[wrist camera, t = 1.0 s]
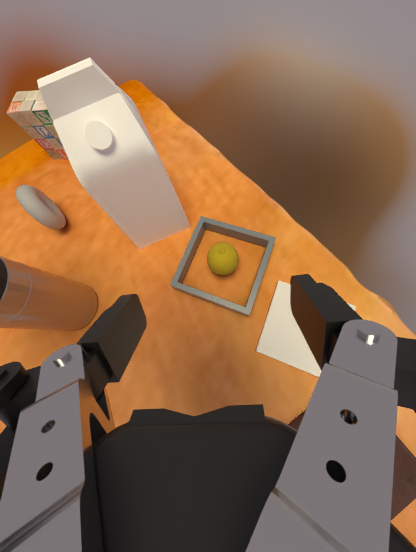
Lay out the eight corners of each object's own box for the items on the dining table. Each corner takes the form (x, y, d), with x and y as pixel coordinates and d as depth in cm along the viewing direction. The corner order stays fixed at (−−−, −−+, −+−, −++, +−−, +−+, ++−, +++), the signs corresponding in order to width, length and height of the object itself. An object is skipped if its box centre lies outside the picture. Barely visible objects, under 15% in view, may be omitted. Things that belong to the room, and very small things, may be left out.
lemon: (229, 248, 41) (228, 228, 33) (243, 271, 39) (245, 256, 32) (205, 261, 41) (198, 244, 33) (218, 285, 39) (214, 273, 31)
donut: (76, 231, 47) (36, 204, 37) (63, 239, 46) (19, 215, 37) (59, 203, 50) (18, 171, 40) (47, 211, 49) (3, 181, 40)
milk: (173, 187, 47) (106, 20, 22) (191, 227, 43) (134, 82, 19) (125, 207, 47) (5, 64, 22) (139, 249, 43) (14, 134, 19)
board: (255, 350, 35) (256, 351, 34) (277, 281, 38) (278, 280, 37) (335, 383, 32) (338, 385, 31) (352, 306, 35) (355, 306, 34)
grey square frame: (174, 288, 40) (169, 285, 37) (203, 224, 43) (200, 216, 40) (248, 316, 37) (249, 315, 34) (272, 244, 40) (276, 237, 37)
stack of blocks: (133, 139, 53) (105, 83, 41) (128, 158, 51) (97, 106, 40) (60, 141, 56) (15, 90, 44) (54, 160, 54) (4, 111, 43)
